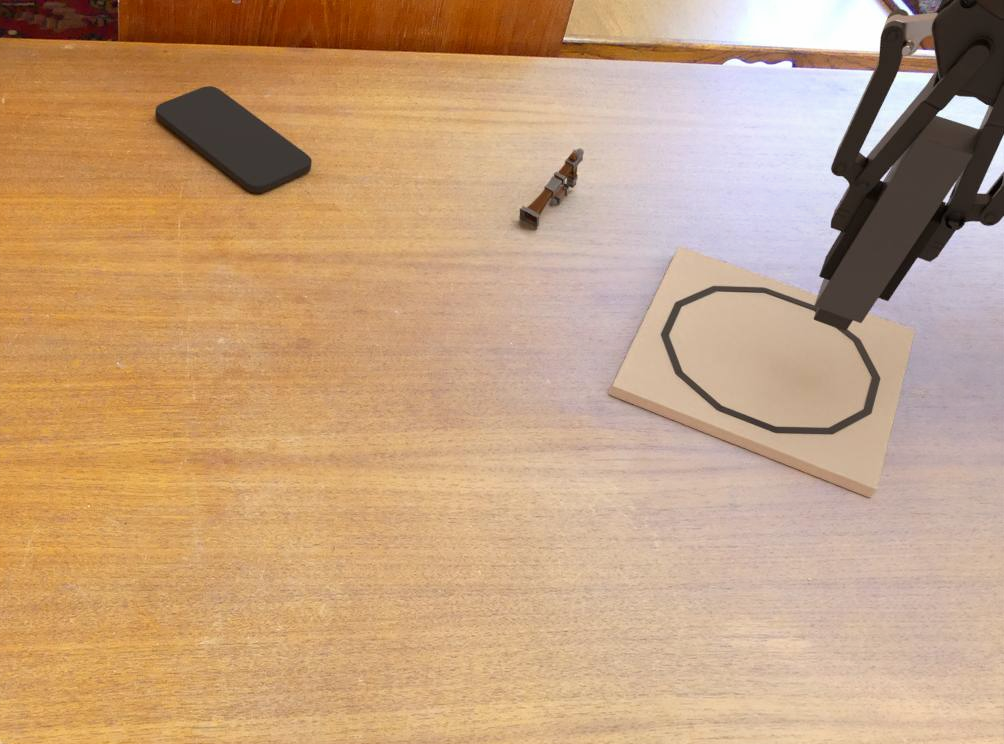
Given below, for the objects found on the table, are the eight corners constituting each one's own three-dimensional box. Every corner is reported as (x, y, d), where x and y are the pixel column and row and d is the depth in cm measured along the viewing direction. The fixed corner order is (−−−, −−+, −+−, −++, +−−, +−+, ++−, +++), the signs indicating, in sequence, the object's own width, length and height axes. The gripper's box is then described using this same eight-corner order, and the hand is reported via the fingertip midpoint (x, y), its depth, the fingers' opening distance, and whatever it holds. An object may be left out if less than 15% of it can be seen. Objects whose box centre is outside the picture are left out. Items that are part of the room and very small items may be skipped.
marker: (859, 312, 82) (979, 129, 70) (851, 338, 81) (973, 155, 69) (813, 295, 83) (925, 111, 71) (804, 321, 81) (917, 136, 69)
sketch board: (909, 339, 92) (916, 328, 91) (870, 498, 81) (878, 488, 80) (674, 254, 96) (679, 244, 95) (607, 394, 85) (612, 384, 84)
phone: (254, 190, 96) (149, 107, 102) (254, 198, 97) (149, 115, 103) (317, 161, 99) (212, 82, 105) (316, 169, 100) (211, 91, 106)
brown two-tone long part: (587, 180, 100) (591, 147, 96) (535, 246, 99) (537, 216, 95) (570, 171, 101) (573, 138, 97) (518, 236, 100) (519, 206, 96)
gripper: (912, -84, 60) (731, 265, 79) (1241, 7, 56) (969, 352, 75) (930, -132, 64) (754, 211, 83) (1238, -49, 60) (981, 290, 79)
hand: (856, 277), depth 79 cm, fingers closed on marker, 3 cm apart
